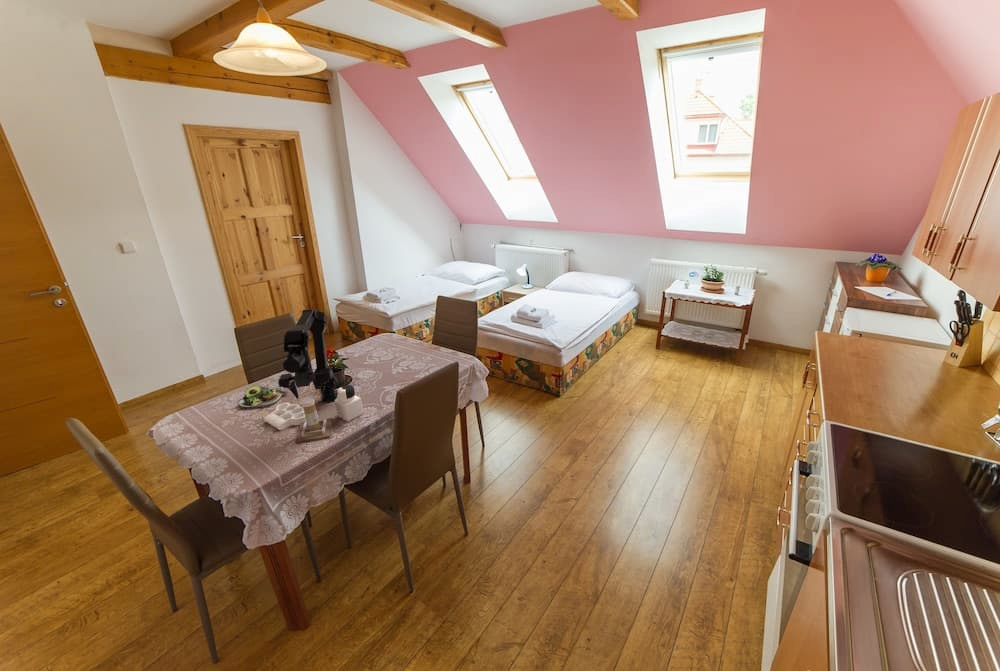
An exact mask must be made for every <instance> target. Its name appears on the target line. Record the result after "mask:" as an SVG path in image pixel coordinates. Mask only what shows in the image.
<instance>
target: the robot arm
mask: <svg viewBox="0 0 1000 671" xmlns="http://www.w3.org/2000/svg"><path fill="white" fill-rule="evenodd" d="M328 323H329V317H328V315H327V313H325V312H322V311H319V310H317V309H315V308H310V309H302V312H301V316H300V317H299V318H298V321H297V322H296V324H295V325H294V326H292V327H289V328H288V329H287V330H286V331H285V334H284V337H283V353H288V354H287V355H286V359H285V360H284V361H283V363H282V367H283V370H285V372H287V373H283V374H282V373H281V375H280V376H279V378H278V381H277V384H278V387H280V388H282V389H288V390H289V391H290V392H291V393H292V394H293V395H294V396H295V398H296V399H299V397H300V396H299V393H298V389H297V388H302V387H308V386H310V385H311V383H312V384H313V386H314V390H320V394H321V399H320V403H329V402H335V400H336V399H338V392H336V391H335V390H336V387H338V386H339V383H338V382H339V381H338V378H337V377H336V376H335V375H334V371H333V369H331V367H330V366H329V365H328V364H329V363H328V357H327V356H328V355H327V353H328V352H327V346H326V337H325V332H326V330H327V328H328ZM309 332H310V333H311V334H312V339H313V340H312V341H313V349H314V356H315V358H314V359H315V364H316V366H315V367H316V368H315V370H314V369H313V366H312V360H311V356H310V352H309V346H310V335H309ZM293 374H294V375H293Z"/></svg>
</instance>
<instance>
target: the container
mask: <svg viewBox="0 0 1000 671" xmlns="http://www.w3.org/2000/svg"><path fill="white" fill-rule="evenodd" d="M336 393H337V399H336V400H335V401H334V404H335V409H336V410H335V411H336V413H337V416H338V417H339V418H341V419H343V420H344V421H346V422H350V421H351V420H354V419H356V418H358V417H360V416H361V415H363V414H364V410H363V403H362V398H361V397H359V396H357V395H356V392H355V386H353V385H351V384H346V385H342V386H340V387H338V389H337V392H336Z"/></svg>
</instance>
